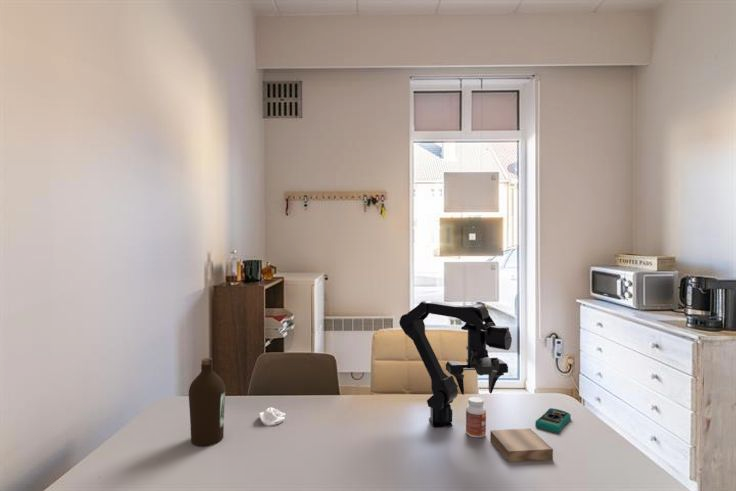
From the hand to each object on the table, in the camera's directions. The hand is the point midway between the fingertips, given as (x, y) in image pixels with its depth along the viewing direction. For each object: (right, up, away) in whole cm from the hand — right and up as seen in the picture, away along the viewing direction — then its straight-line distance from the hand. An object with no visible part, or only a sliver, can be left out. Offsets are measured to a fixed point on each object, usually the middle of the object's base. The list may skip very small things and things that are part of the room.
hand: (476, 393), depth 136 cm
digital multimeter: (+28, -14, +8) cm, 32 cm away
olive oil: (-84, -13, -4) cm, 85 cm away
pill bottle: (0, -13, 0) cm, 13 cm away
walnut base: (+11, -13, -10) cm, 19 cm away
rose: (-68, -13, +11) cm, 70 cm away
